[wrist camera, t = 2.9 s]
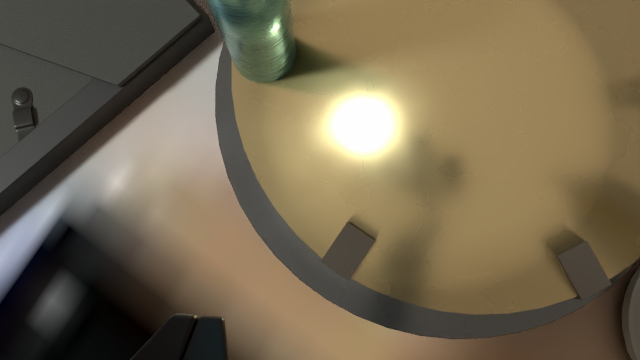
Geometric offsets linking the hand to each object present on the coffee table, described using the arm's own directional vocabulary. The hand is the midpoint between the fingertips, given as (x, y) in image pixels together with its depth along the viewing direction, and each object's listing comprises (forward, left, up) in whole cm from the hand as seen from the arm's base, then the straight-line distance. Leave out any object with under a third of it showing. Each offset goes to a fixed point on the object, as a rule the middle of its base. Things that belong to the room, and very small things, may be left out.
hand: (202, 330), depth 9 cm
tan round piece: (+10, -1, -9) cm, 13 cm away
